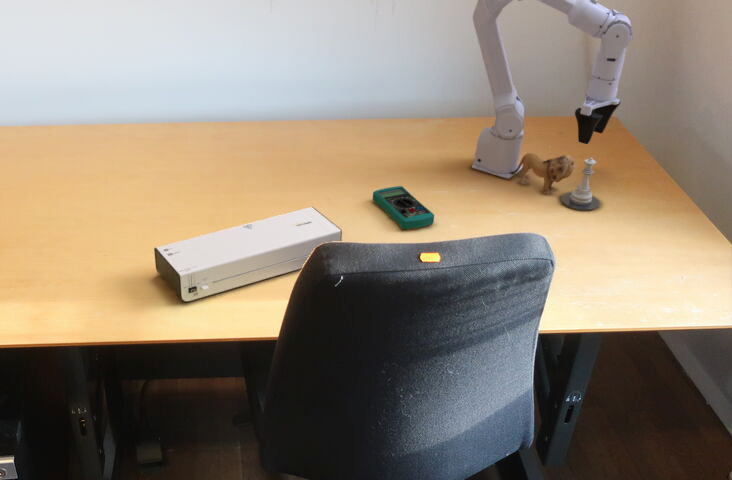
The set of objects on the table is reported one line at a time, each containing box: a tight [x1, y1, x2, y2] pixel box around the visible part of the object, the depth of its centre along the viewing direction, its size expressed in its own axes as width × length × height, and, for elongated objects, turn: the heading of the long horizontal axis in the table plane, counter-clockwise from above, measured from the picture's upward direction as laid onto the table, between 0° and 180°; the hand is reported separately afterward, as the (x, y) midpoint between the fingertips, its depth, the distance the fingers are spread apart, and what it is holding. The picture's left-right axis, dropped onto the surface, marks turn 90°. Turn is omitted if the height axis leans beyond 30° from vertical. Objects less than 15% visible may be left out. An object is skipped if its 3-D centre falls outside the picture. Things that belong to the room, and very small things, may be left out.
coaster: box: [560, 192, 600, 212], centre depth 186 cm, size 8×8×1 cm
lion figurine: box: [509, 152, 576, 196], centre depth 189 cm, size 15×5×9 cm, turn 46°
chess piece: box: [570, 156, 597, 205], centre depth 183 cm, size 4×4×10 cm
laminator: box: [153, 206, 343, 303], centre depth 162 cm, size 34×12×6 cm, turn 119°
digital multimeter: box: [372, 185, 435, 231], centre depth 180 cm, size 7×15×3 cm, turn 21°
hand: (590, 137), depth 189 cm, fingers open, 7 cm apart
